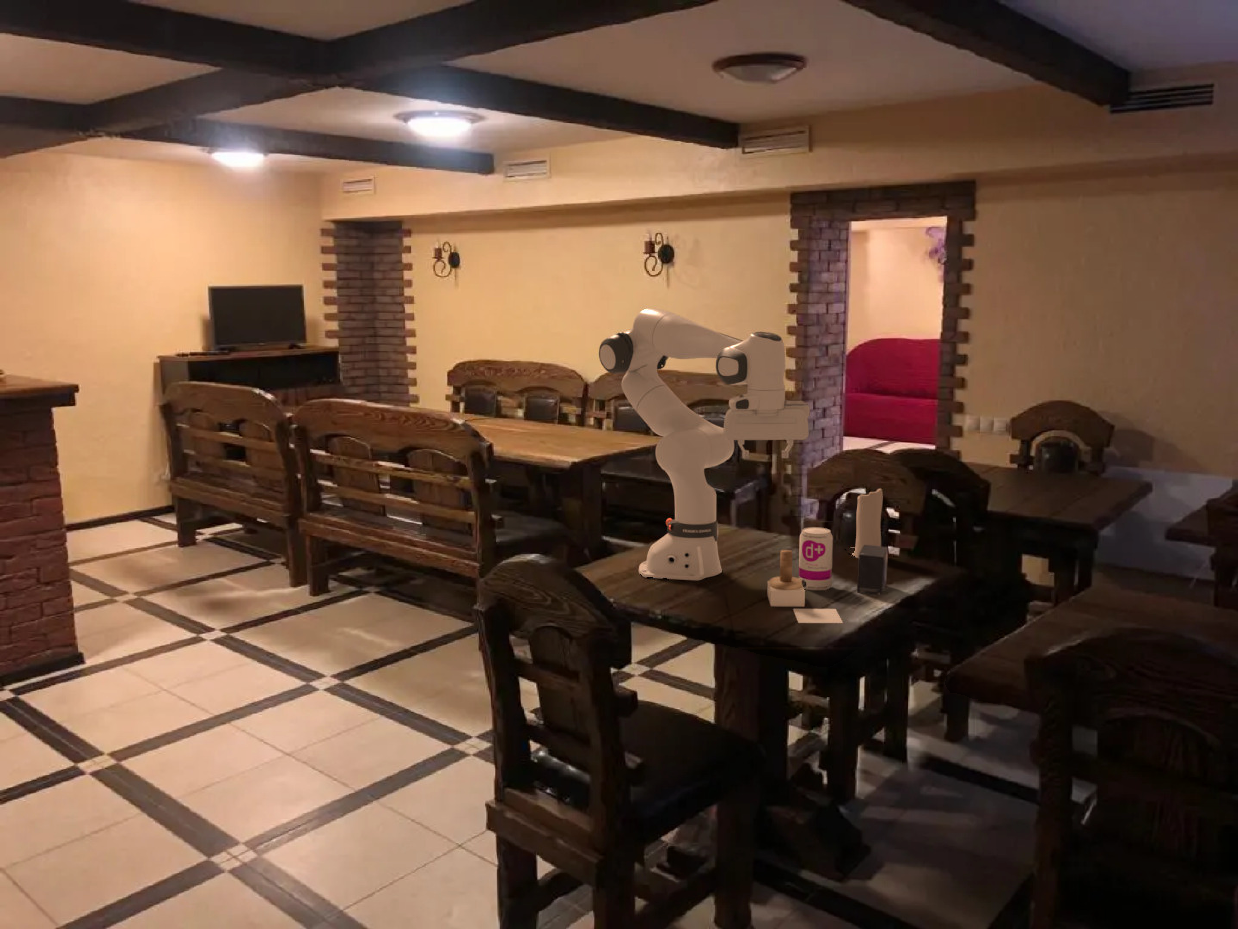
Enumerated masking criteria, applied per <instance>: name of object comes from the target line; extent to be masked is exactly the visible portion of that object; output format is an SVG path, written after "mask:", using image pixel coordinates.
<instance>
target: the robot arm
mask: <svg viewBox="0 0 1238 929" xmlns="http://www.w3.org/2000/svg"><path fill="white" fill-rule="evenodd" d="M598 348H599V350H598V358H599V362H600V364H601V365H602V367H603V368H604V370H606V372H608V373H609V374H614V375H615V374H616V375H617V374H618V375H619V374H621V375H622V374H624V373H625V375H623V377H622V380H621V390H622V392H623V393H624V395H625V397H626V399H627V401H628V402H629V404H630V405H631V406H632V408H633V409H634V410H635V412H636V413H637V415H638V416H640V418H641V419H642V420H643V422H645V423H646V424H647V426H648V427H649V428H650V429H651V431H652V432H654V434H656V435H658V436H660V437H662V438H660V439H659V440H658V442H657V443H656V446H655V460H656V461H657V464H658V466H659V467H660V468H661V469H662V470H663V471H665V473H666V474H667V475H668V478H669V480H670V482H671V484H672V485H671V486H672V489H673V495H674V519H672V518H671V517H669V518H667V519H666V521H665V525H666V526H667V527H666V528H667V533H666V534H665V535H664V536H661V538H659V539H658V540H657V541H655V542H654V543H653V544H652V545H651V546H650V547H649V550H648V551H647V556H646V560H645V561H642V562H641V563H640V564H639V567H638V574H639V575H640V574H641V575H642V577H643V578H647V577H653V578H652V579H663V578H667V580H668V579H669V580H683V581H684V580H685V581H701V580H704V579H705V578H710V577H715V576H717V575H720V574H721V573H722V571H723V570H722V566H721V562H720V556H719V552H718V550H719V548H718V540H719V539H718V538H719V522H718V519H717V493H716V490H715V489H714V487H712V486H711V485H710V484H708V482H707V479H706V476H705V469H707V468H712V467H713V468H714V467H717V466H718V465H721V464H723V463H725V462H726V461H727V460H728V461H729V460H730V458H731V457H732V455H733V453H734V452H735V441H737V445H738V446H739V448H740V450H741V451H742V452H741V454H742V456H741V457H742V459H744V460H745V459H747V460H748V459H750V450H747V449H745V447H744V446H743V445H745V441H777V440H780V441H781V440H782V441H784V440H786V444H787V446H786V448H785V449H782V450H781V459H789V456H790V455H789V452H790V451H791V449H792V447H793V445H794V440H799V441H800V440H802V441H803V440H806V439H807V438H808V437H809V435H810V433H809V421H808V418H809V417H810V414H811V413H810V412H811V411H810V410H811V407H810V405H809V404H808V402H807V403H806V402H804V401H803V400H786V396H785V395H786V387H785V385H786V384H785V382H784V376H785V372H786V351H785V350H786V349H785V348H786V347H785V343H784V339H783V338H782V336H780V335H778V334H776V333H774V332H770V331H769V332H768V331H767V332H765V331H755V332H752V333H751V334H749V336H748V337H747V338H746V339H745V340H742V339H740V338H736V337H733V336H730V335H727V334H724V333H721V332H718V331H715V330H713V329H711V328H709V327H706V326H704V325H701V324H699V323H696V322H695V321H692V320H690V319H688V318H685V317H683V316H681V315H678V314H676V313H675V312H671V311H669V310H664V309H661V308H653V307H647V308H645V309H643V310H641V311H640V312H639V313H638V314H636V316H635V318H634V320H633V325H632V328H630V329H629V330H625V331H619V332H617V333H614V334H612V335H609V336H608V337H606V338H605V339H604V340H602V342H601V343H600V345H599V347H598ZM669 358H671V359H676V360H677V359H678V360H694V359H716V360H715V371H716V374H717V376H718V378H719V379H720V381H721V382H723V383H724V384H725V385H729V386H742V385H747V393H743V394H741V395H738V396H734V397H732V398H730V399H729V401H728V407H729V409H727V411H726V413H725V416H724V421H723V422H724V423H723V427H721V426H719V425H716V424H714V423H712V422H710V421H708V420H707V419H705V418H703V417H702V416H701V415H699V414H697V413H696V412H694V411H693V410H692V409H690V408H689V407H688V406H687V405H686V404H685V403H684V402H682V400H681V399H680V398H679V397H678V396H677V395H676V394H675V393H674V391H672V389H670V387H669V386H668V385H667V384H666V383H665V382H664V381H663V380H662V378H660V376H659V373H658V370H662V369H663V368H665V366H666V364H667V361H668V359H669ZM641 575H640V576H641Z"/></svg>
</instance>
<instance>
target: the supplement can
mask: <svg viewBox="0 0 1238 929" xmlns="http://www.w3.org/2000/svg"><path fill="white" fill-rule="evenodd" d="M833 536H834V535H832V533H831V529H828V528H826V527H825V528H824V527H817V526H814V527H812V526H811V527H805V528H803V529H802V530H801V533H800V535H799V545H798V546H799V547H798V548H799V550H798V553H799V554H798V578H799V579H801V580H802V585H803V587H804V589H806V590H805V591H828V590H829V589H830V588H832V583H833V582H832V581H833V551H834V550H833V548H834V546H833V545H834V544H833V542H834V541H833V540H834V537H833ZM827 589H828V590H827Z"/></svg>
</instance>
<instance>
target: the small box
mask: <svg viewBox="0 0 1238 929" xmlns="http://www.w3.org/2000/svg"><path fill="white" fill-rule="evenodd" d="M857 563H858V566H857V585H856V586H857V587H856V593H857V594H869V595H883V593H884V590H885V588H886V586H887V577H888V576H887V575H888V546H882V545H881V546H872V545H864V546H863V547H862V549H861V551H860V553H859V558H858V561H857Z"/></svg>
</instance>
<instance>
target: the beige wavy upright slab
mask: <svg viewBox="0 0 1238 929" xmlns="http://www.w3.org/2000/svg"><path fill="white" fill-rule="evenodd" d="M883 495H884V494H883V489H882V488H877V489H876V491H870V492H869V493H868V494H863V493H861V494H860V495H858V496H857V508H856V517H855V518H856V520H855V521H856V522H855V523H856V533H855V534H856V536H855V537H856V538H855V547H851V548H855V551H854V553H852V555H853V556H852V555H851V556H852V557H854V556H855V557H854V558H856V559H859V553H860V551H861V549H862V547H863V546H864V545H872V546H881V547H882V536H881V533H882V532H881V521H882V520H881V519H882V518H881V516H882V510H883V500H884V497H883Z"/></svg>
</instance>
